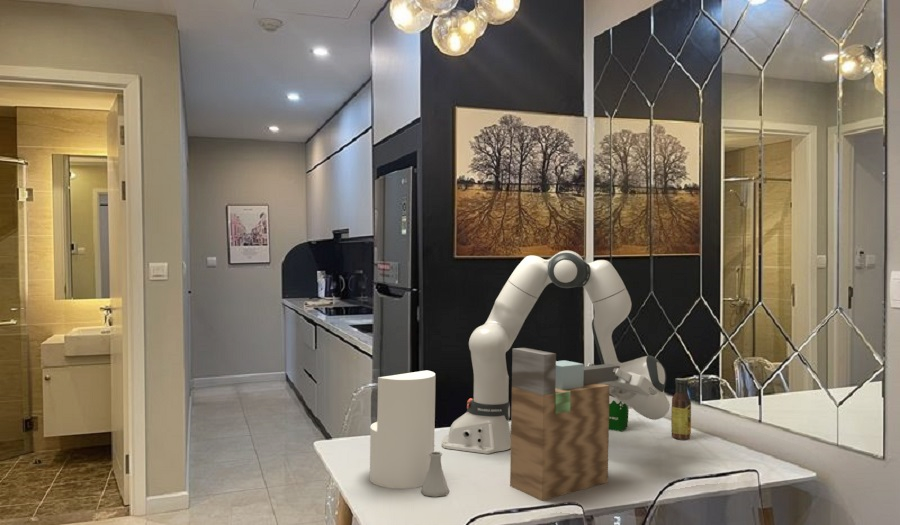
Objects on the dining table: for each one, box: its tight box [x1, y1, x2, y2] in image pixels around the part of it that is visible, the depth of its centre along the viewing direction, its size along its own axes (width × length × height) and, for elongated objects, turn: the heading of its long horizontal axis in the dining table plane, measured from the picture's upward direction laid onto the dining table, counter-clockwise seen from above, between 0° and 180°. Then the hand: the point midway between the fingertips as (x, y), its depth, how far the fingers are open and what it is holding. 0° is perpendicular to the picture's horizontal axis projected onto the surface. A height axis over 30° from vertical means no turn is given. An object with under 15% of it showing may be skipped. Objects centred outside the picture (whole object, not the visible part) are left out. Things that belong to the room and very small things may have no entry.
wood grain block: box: [509, 347, 610, 501], centre depth 171 cm, size 24×13×36 cm, turn 125°
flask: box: [420, 450, 450, 498], centre depth 164 cm, size 7×7×10 cm
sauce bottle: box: [670, 377, 692, 441], centre depth 219 cm, size 7×6×20 cm
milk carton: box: [609, 396, 630, 432], centre depth 230 cm, size 9×9×20 cm
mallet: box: [555, 359, 620, 390], centre depth 176 cm, size 24×7×6 cm, turn 125°
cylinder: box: [369, 370, 436, 490], centre depth 175 cm, size 17×17×28 cm
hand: (602, 368), depth 180 cm, fingers open, 8 cm apart
